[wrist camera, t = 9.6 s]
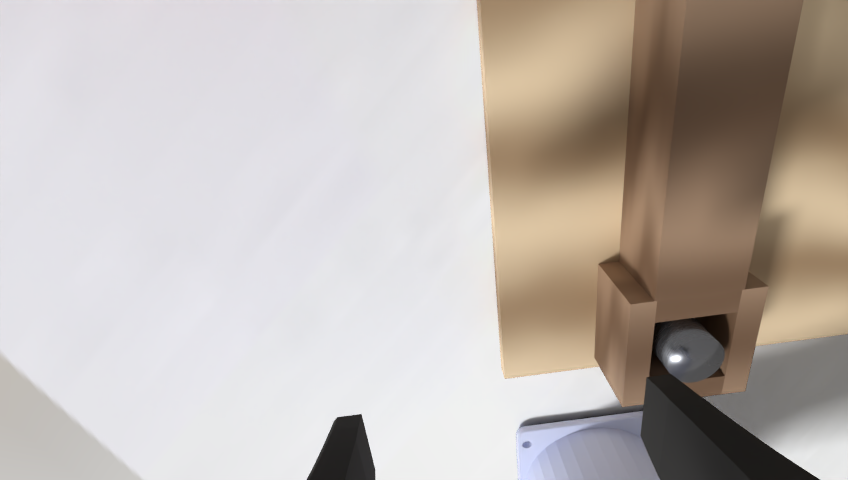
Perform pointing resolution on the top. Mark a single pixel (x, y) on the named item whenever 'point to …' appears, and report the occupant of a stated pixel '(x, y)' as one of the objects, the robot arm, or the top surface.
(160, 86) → the top surface
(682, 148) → the link
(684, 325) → the post
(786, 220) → the board
